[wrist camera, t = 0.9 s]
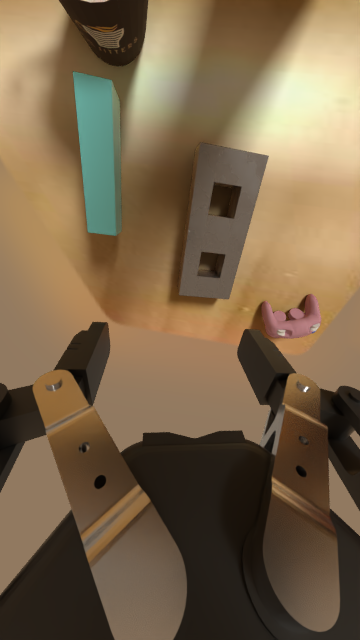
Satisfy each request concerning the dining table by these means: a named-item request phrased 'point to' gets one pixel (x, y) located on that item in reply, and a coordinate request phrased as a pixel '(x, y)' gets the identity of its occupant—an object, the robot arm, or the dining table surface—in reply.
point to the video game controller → (292, 320)
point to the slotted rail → (218, 218)
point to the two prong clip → (99, 151)
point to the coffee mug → (110, 27)
